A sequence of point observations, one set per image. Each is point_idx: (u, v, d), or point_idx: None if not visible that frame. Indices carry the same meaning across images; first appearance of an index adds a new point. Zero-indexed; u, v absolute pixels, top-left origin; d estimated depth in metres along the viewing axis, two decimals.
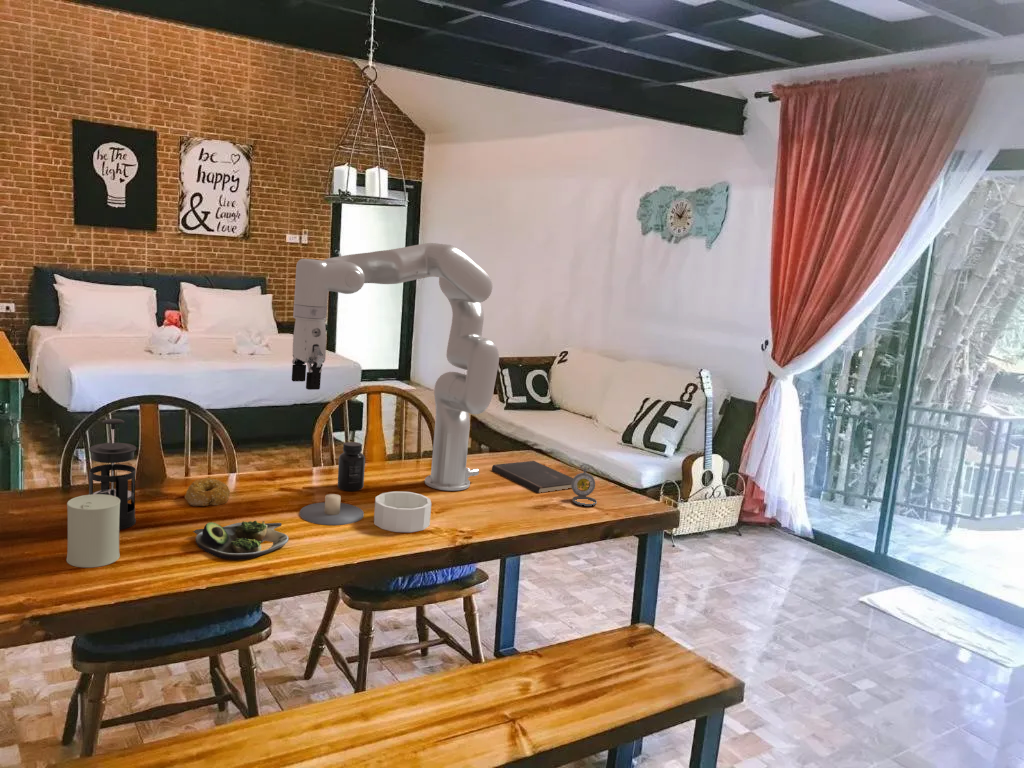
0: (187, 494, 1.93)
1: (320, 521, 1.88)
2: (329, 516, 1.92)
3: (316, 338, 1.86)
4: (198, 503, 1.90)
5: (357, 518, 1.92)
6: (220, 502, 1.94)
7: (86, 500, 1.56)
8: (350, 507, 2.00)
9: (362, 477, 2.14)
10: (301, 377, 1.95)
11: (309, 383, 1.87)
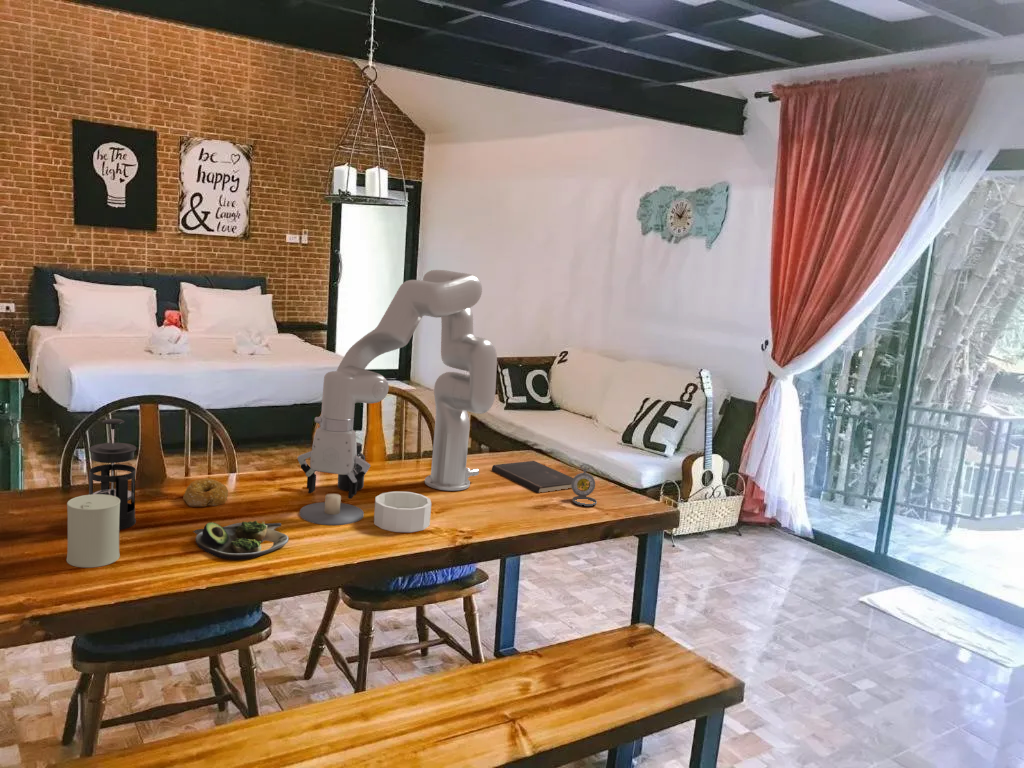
0: (185, 495, 1.92)
1: (321, 520, 1.88)
2: (329, 515, 1.92)
3: None
4: (196, 504, 1.90)
5: (357, 518, 1.92)
6: (219, 503, 1.93)
7: (86, 500, 1.56)
8: (350, 506, 2.00)
9: (362, 477, 2.14)
10: None
11: None
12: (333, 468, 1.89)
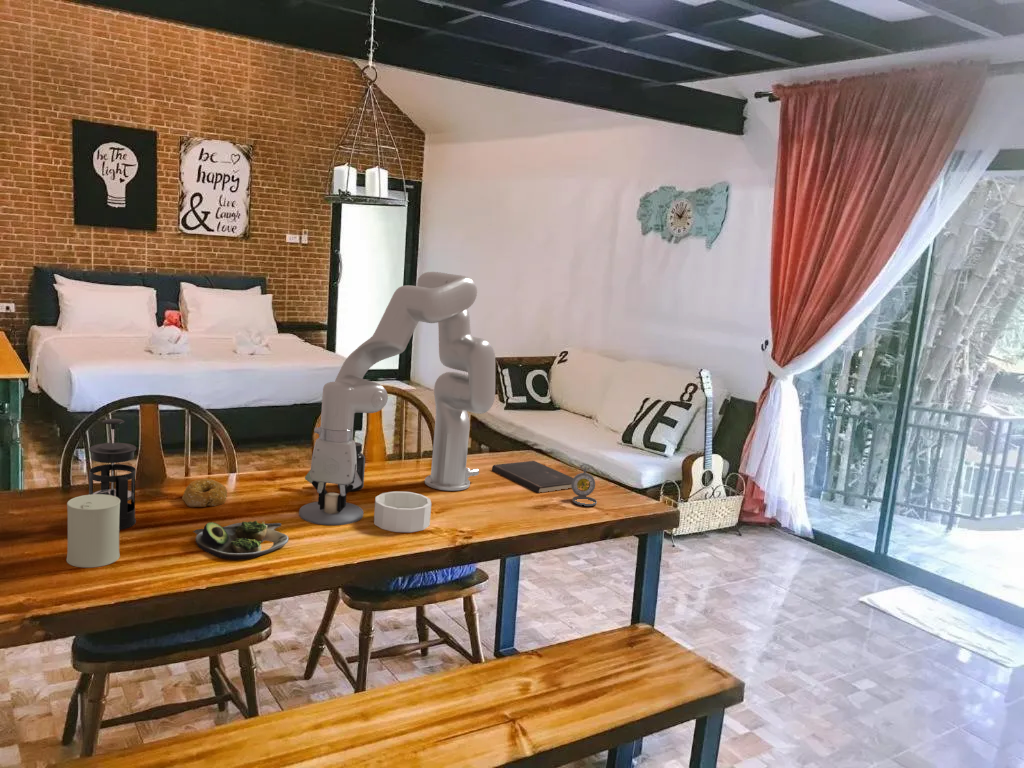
0: (185, 495, 1.92)
1: (321, 520, 1.88)
2: (329, 514, 1.92)
3: None
4: (195, 504, 1.89)
5: (357, 516, 1.92)
6: (218, 503, 1.93)
7: (86, 500, 1.56)
8: (349, 505, 2.00)
9: (362, 477, 2.14)
10: None
11: None
12: (333, 478, 1.90)
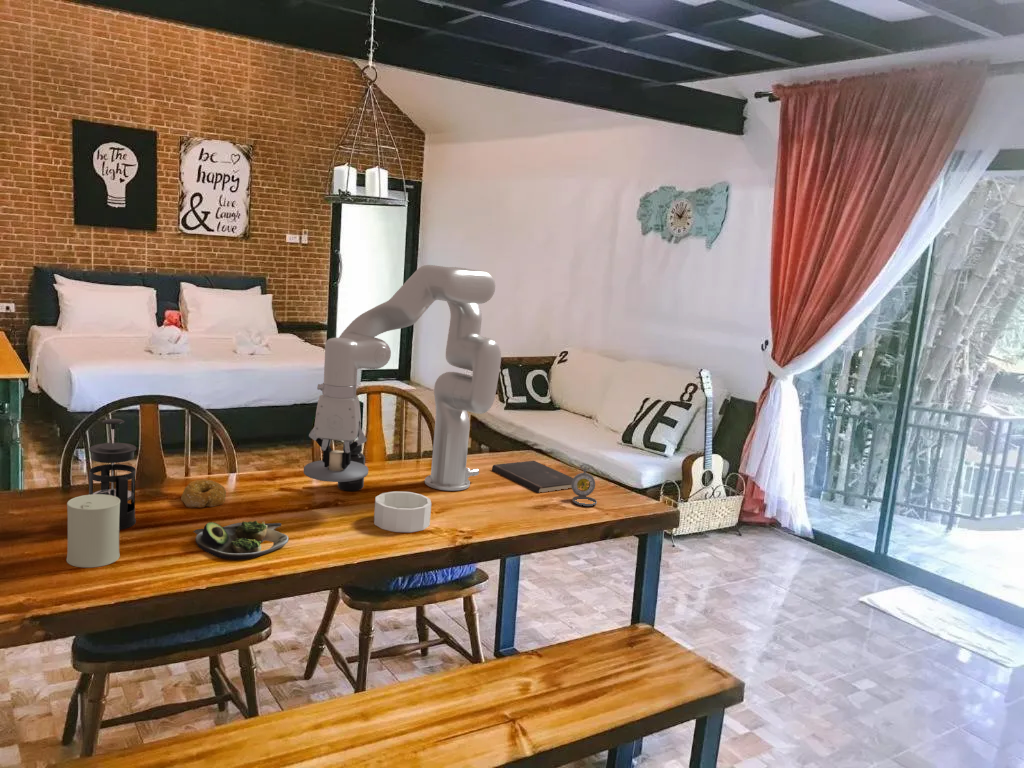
0: (183, 495, 1.91)
1: (325, 476, 1.86)
2: (333, 472, 1.90)
3: None
4: (194, 505, 1.89)
5: (362, 473, 1.91)
6: (217, 503, 1.92)
7: (86, 500, 1.56)
8: (354, 463, 1.98)
9: None
10: None
11: None
12: (337, 435, 1.89)
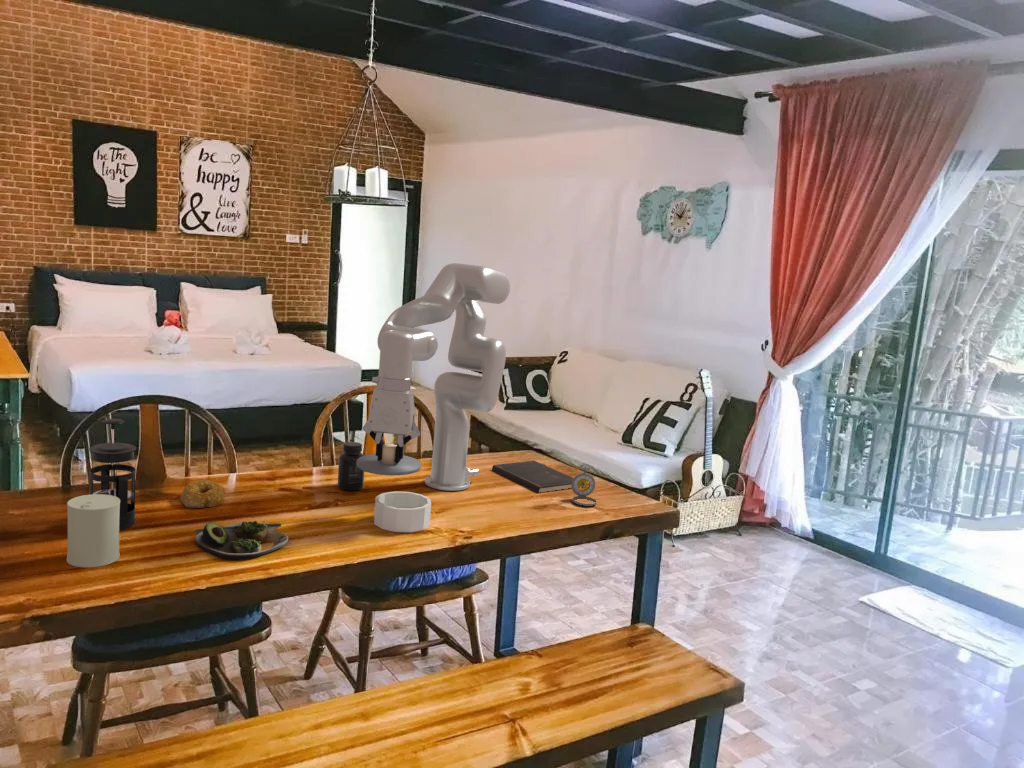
0: (183, 496, 1.91)
1: (379, 470, 1.85)
2: (386, 465, 1.89)
3: None
4: (194, 505, 1.89)
5: (415, 467, 1.89)
6: (216, 504, 1.92)
7: (86, 500, 1.56)
8: (406, 457, 1.97)
9: (362, 477, 2.14)
10: None
11: None
12: (391, 428, 1.87)
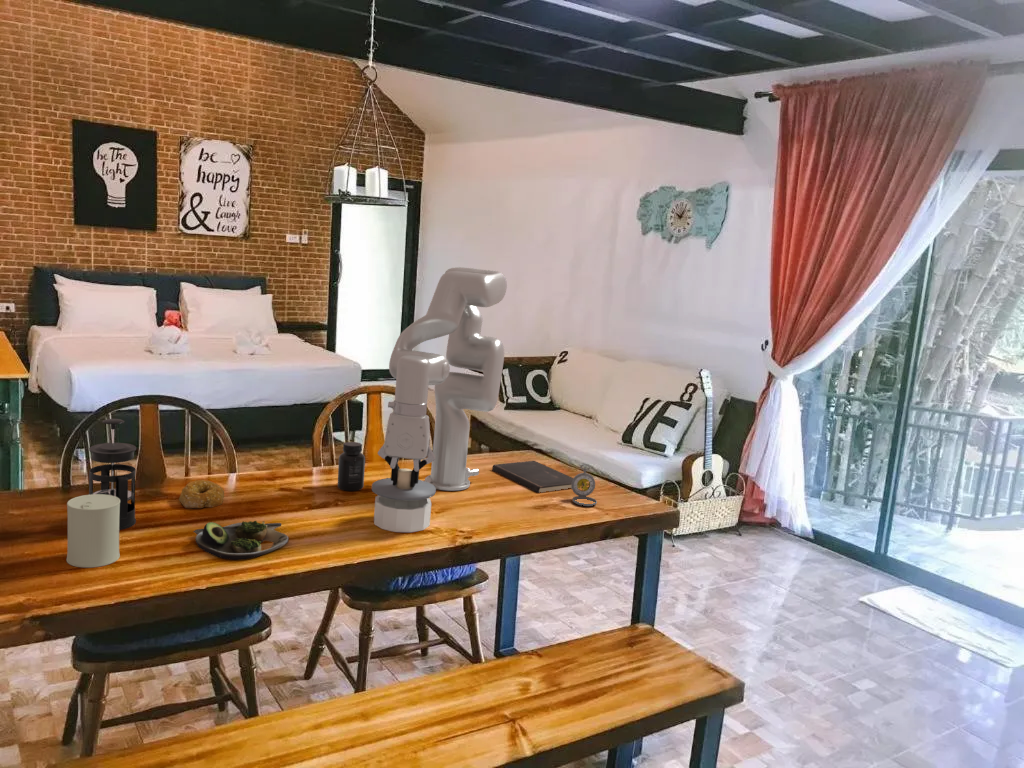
0: (181, 496, 1.91)
1: (395, 495, 1.85)
2: (402, 490, 1.89)
3: None
4: (193, 505, 1.88)
5: (431, 492, 1.90)
6: (215, 504, 1.92)
7: (86, 500, 1.56)
8: (420, 482, 1.97)
9: (362, 477, 2.14)
10: None
11: None
12: (407, 453, 1.88)
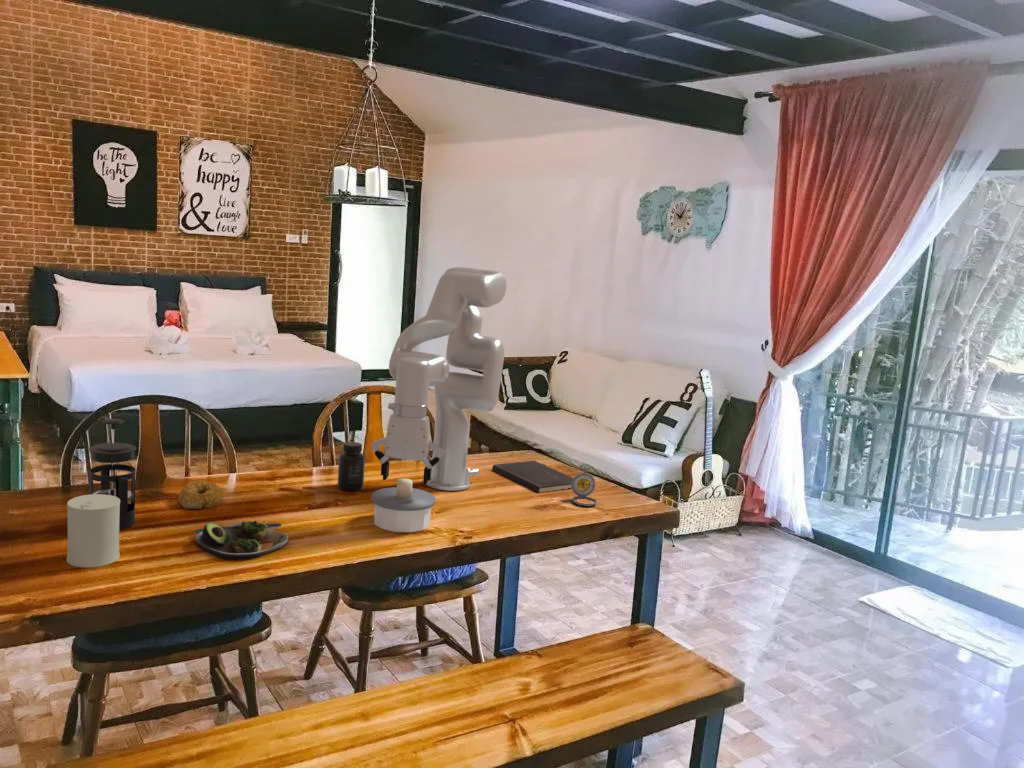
0: (180, 497, 1.90)
1: (395, 505, 1.86)
2: (402, 500, 1.90)
3: None
4: (192, 506, 1.88)
5: (430, 502, 1.91)
6: (214, 504, 1.92)
7: (86, 500, 1.56)
8: (420, 491, 1.98)
9: (362, 477, 2.14)
10: None
11: None
12: (408, 454, 1.88)
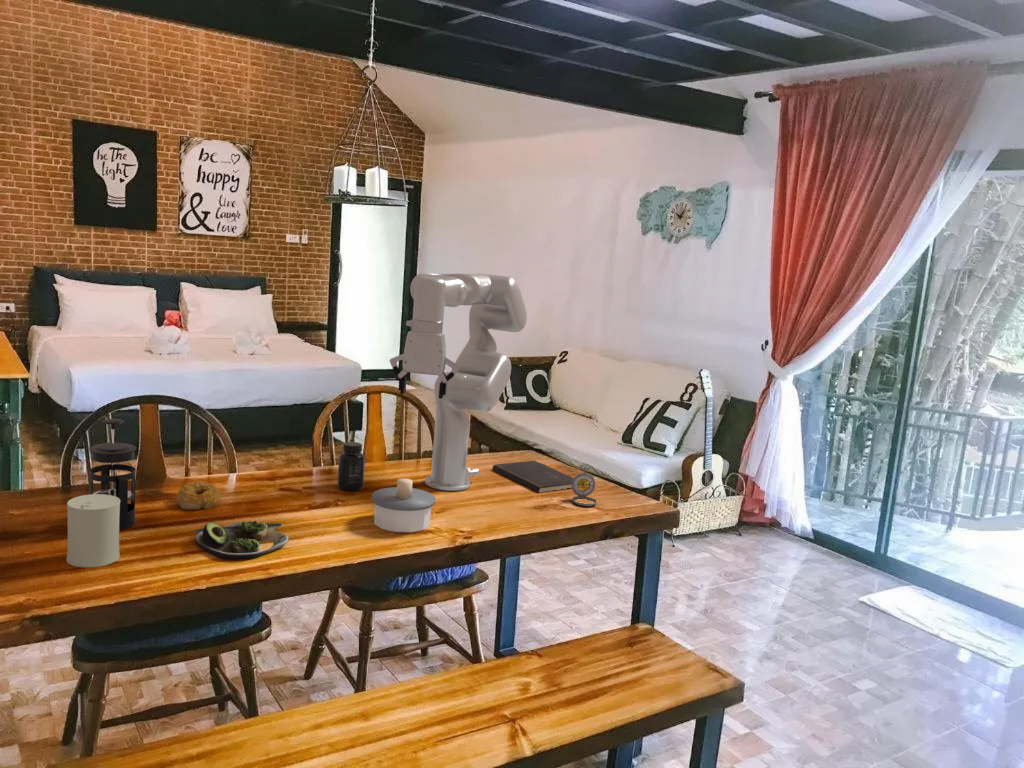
0: (178, 498, 1.89)
1: (395, 505, 1.86)
2: (402, 500, 1.90)
3: None
4: (190, 507, 1.87)
5: (430, 502, 1.91)
6: (212, 505, 1.91)
7: (86, 500, 1.56)
8: (420, 491, 1.98)
9: (362, 477, 2.14)
10: None
11: None
12: (425, 369, 1.99)
